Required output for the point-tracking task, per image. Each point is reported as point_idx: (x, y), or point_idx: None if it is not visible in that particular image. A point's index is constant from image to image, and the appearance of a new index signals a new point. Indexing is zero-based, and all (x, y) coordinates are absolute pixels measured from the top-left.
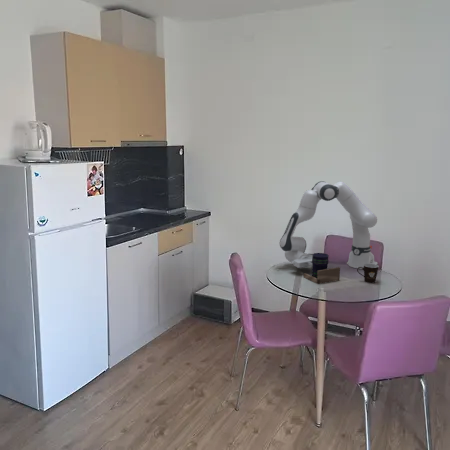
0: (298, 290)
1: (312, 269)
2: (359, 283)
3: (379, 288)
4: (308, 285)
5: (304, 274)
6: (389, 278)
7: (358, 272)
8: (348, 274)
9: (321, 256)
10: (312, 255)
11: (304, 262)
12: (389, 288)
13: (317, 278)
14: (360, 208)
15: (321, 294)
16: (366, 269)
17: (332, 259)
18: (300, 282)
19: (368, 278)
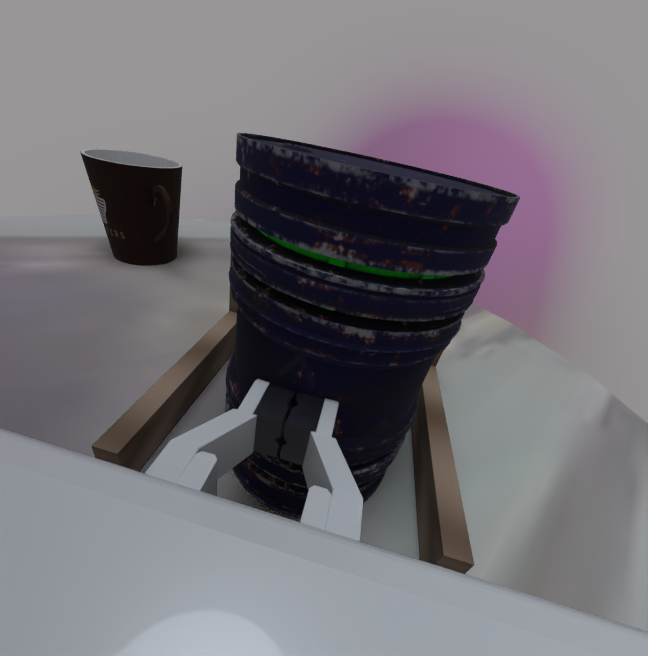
0: (608, 405)
1: (410, 409)
2: (217, 272)
3: (230, 238)
4: (506, 408)
5: (465, 547)
6: (39, 222)
7: (170, 227)
8: (21, 327)
9: (409, 171)
10: (497, 221)
11: (497, 588)
12: (205, 226)
13: (438, 356)
14: None
15: (490, 324)
16: (177, 186)
17: None
18: (554, 487)
19: (177, 234)
